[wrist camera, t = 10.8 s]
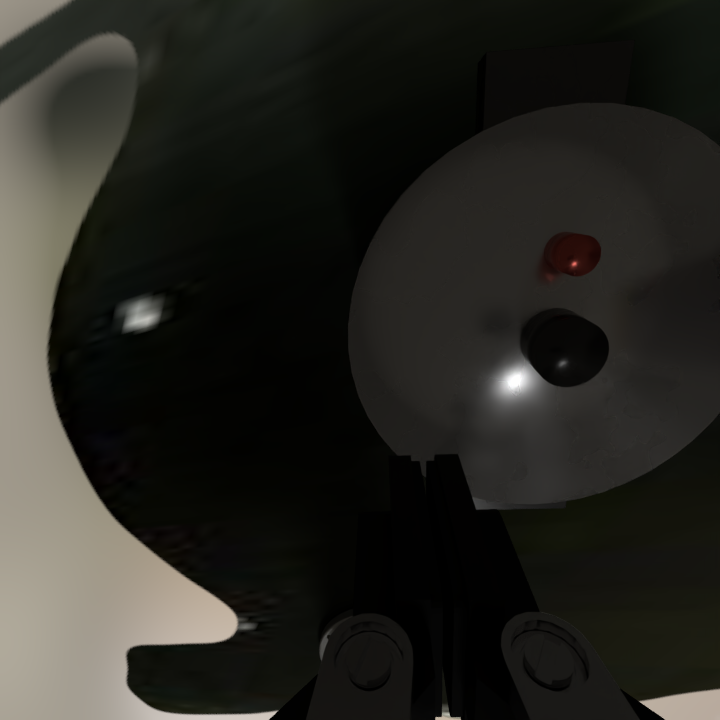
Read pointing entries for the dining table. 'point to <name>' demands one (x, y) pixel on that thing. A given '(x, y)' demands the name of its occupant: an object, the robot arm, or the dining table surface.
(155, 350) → the dining table surface
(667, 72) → the dining table surface
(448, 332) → the cooker lid
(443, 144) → the dining table surface
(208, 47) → the dining table surface
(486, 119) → the cooker pot
